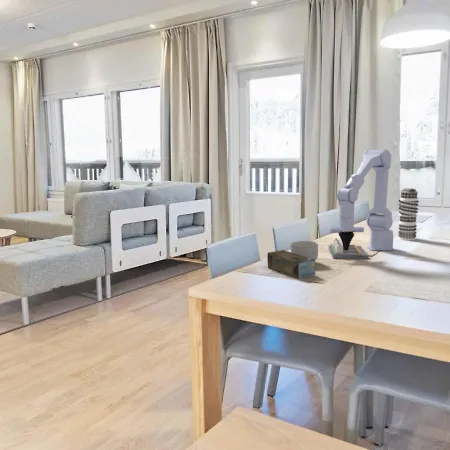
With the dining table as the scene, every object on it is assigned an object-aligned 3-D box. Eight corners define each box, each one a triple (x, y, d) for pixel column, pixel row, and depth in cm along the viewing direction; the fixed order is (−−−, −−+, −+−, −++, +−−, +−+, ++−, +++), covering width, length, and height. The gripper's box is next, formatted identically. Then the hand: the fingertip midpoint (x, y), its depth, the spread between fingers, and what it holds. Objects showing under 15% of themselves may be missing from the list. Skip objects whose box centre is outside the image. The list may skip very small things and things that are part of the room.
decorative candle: (411, 241, 224) (414, 189, 220) (393, 238, 231) (395, 188, 227) (420, 238, 230) (423, 188, 226) (402, 236, 237) (405, 187, 233)
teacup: (317, 266, 175) (318, 245, 174) (289, 265, 177) (289, 245, 176) (317, 258, 189) (318, 239, 187) (291, 257, 191) (291, 238, 190)
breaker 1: (338, 245, 205) (338, 238, 205) (339, 247, 202) (339, 239, 201) (333, 245, 206) (333, 238, 205) (333, 247, 202) (334, 239, 202)
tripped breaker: (341, 251, 193) (341, 243, 192) (342, 253, 189) (342, 245, 189) (335, 251, 193) (335, 243, 192) (336, 253, 189) (336, 245, 189)
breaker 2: (340, 248, 199) (340, 241, 199) (341, 250, 196) (341, 242, 195) (334, 248, 199) (334, 240, 199) (335, 250, 196) (335, 242, 195)
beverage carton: (298, 279, 158) (298, 260, 157) (266, 268, 174) (266, 251, 173) (316, 276, 162) (316, 257, 161) (283, 265, 178) (283, 248, 177)
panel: (360, 249, 206) (360, 244, 206) (368, 259, 186) (368, 253, 186) (328, 248, 208) (328, 243, 208) (333, 258, 188) (333, 252, 188)
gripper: (359, 215, 194) (358, 247, 196) (326, 216, 191) (325, 248, 193) (366, 217, 187) (365, 250, 189) (332, 218, 184) (332, 252, 186)
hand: (345, 249), depth 191 cm, fingers closed
